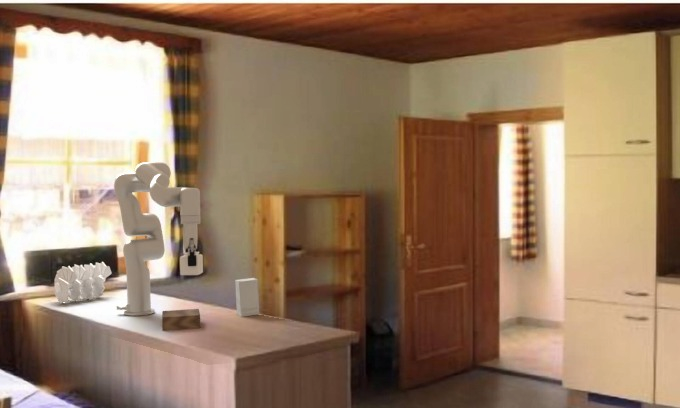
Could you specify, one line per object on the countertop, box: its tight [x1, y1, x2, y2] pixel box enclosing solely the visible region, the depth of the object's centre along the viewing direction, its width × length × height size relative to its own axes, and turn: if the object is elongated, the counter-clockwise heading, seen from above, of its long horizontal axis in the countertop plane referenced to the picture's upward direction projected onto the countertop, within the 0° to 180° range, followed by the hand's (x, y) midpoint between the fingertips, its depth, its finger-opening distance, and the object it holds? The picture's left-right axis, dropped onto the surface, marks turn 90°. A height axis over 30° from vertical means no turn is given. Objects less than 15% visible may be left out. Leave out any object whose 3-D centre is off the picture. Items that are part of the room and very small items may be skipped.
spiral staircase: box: [53, 261, 113, 303], centre depth 350 cm, size 18×18×25 cm
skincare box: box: [234, 277, 260, 318], centre depth 301 cm, size 8×6×15 cm
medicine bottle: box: [179, 242, 204, 276], centre depth 282 cm, size 7×7×12 cm
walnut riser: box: [161, 308, 201, 332], centre depth 282 cm, size 14×14×5 cm
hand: (191, 264), depth 282 cm, fingers closed on medicine bottle, 8 cm apart
